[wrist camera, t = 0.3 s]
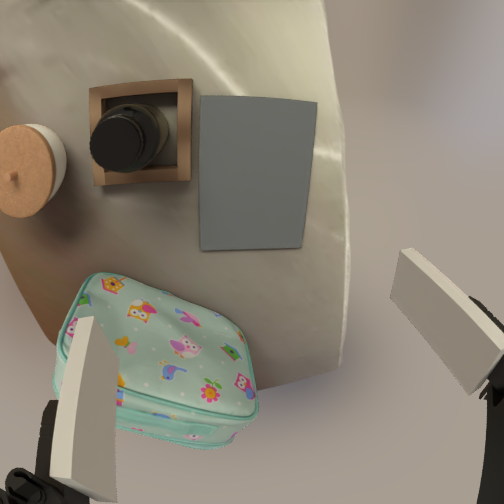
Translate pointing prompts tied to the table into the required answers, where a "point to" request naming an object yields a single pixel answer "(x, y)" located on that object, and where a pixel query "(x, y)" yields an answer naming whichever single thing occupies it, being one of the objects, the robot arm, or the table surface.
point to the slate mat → (254, 171)
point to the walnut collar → (183, 130)
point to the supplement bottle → (128, 137)
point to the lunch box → (167, 362)
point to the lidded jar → (29, 168)
